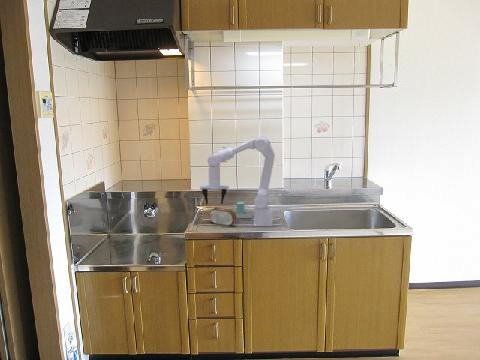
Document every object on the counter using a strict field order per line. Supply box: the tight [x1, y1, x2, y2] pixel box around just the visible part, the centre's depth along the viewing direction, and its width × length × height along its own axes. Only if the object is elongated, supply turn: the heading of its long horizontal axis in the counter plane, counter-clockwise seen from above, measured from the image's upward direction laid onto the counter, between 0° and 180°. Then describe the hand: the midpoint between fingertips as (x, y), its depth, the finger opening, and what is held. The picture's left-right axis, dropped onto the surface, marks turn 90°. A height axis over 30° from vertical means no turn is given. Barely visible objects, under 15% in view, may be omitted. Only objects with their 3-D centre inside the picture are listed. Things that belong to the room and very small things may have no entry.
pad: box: [235, 213, 253, 221], centre depth 213 cm, size 9×8×1 cm
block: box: [236, 201, 245, 214], centre depth 221 cm, size 4×4×6 cm
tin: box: [208, 206, 237, 227], centre depth 199 cm, size 15×3×8 cm, turn 59°
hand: (214, 203), depth 201 cm, fingers open, 7 cm apart
